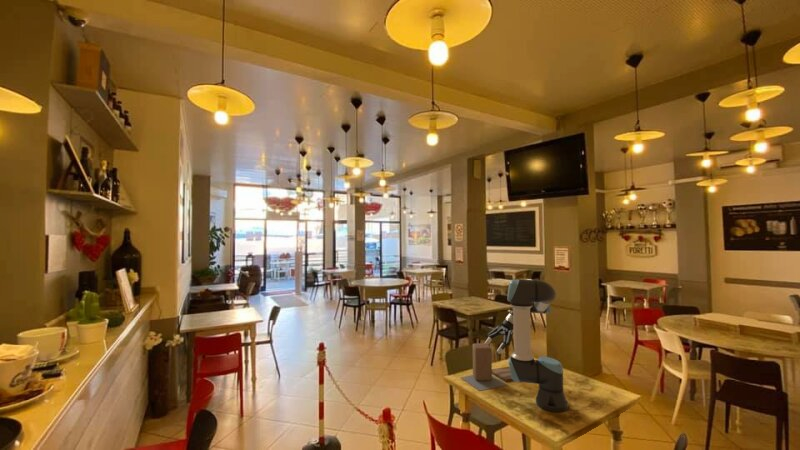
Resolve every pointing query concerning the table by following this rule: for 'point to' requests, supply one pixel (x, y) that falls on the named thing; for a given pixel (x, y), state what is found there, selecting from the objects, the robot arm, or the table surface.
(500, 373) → the walnut board
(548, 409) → the robot arm
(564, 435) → the table surface
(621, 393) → the table surface
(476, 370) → the wooden block
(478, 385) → the gray tile
